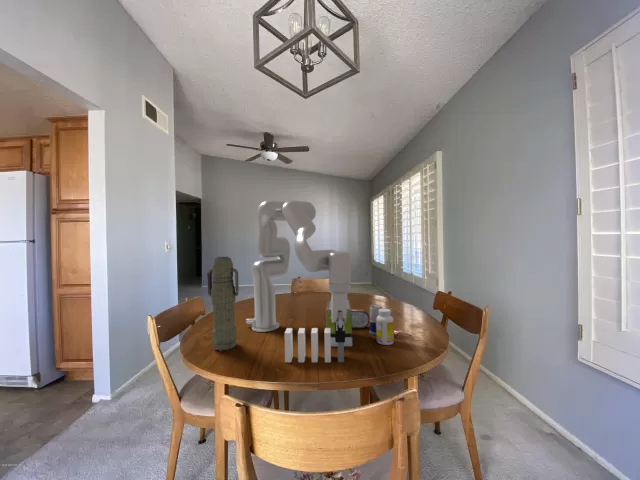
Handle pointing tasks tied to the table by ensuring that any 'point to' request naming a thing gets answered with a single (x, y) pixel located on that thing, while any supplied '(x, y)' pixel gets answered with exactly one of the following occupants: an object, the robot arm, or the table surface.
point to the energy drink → (373, 317)
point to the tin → (360, 318)
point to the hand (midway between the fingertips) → (339, 336)
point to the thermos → (223, 302)
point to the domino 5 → (340, 352)
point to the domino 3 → (314, 344)
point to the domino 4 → (327, 345)
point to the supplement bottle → (385, 327)
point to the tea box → (346, 325)
